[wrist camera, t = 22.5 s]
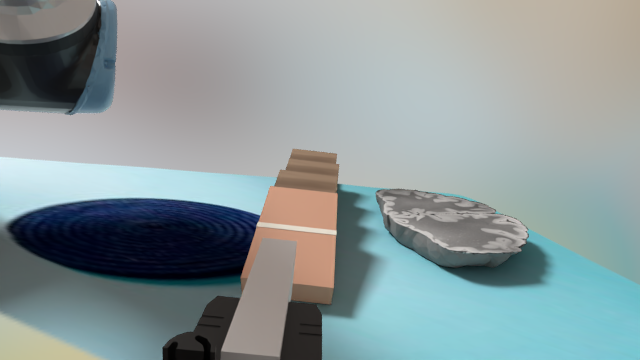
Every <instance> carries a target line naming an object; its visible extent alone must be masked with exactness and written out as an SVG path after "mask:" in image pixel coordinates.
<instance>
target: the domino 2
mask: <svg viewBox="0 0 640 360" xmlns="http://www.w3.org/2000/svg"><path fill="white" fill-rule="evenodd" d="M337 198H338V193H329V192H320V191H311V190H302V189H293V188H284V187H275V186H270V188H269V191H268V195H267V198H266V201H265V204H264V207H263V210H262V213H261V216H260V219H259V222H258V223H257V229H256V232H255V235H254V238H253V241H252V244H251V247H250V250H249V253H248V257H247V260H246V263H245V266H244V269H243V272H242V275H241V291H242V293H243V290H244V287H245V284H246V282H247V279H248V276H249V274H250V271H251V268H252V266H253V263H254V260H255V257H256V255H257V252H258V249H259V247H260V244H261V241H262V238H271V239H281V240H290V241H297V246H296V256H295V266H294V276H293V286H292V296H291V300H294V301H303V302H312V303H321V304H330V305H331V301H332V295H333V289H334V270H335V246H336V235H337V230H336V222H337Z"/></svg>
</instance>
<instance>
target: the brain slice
mask: <svg viewBox="0 0 640 360" xmlns="http://www.w3.org/2000/svg"><path fill="white" fill-rule="evenodd" d="M376 199H377V202H378V204H379V207H380V211H381V213H382V216H383V221H384V225H385V228H386V229H387V230H388V231H389V232H391V233H392V235H393V236H394V237H395V238H396V239H397V240H398V241H399V242H400V243H401V244H402V245H404V246H406V247H408V248H411V249H413V250H414V251H416V252H417V253H418V254H419V255H421V256H424V257H425V258H426V259H428V260H431V261H433V262H434V263H436V264H438V265H440V266H445V267H453V268H458V267H462V266H465V265H468V266H483V265H484V266H488V267H496V266H498V265H500V264H501V263H503V262H505V261H506V260H507V259H508V258H509V257H510V256H511V255H512V254H517V253H518V252H520V251H522V250H521V249H520V248H522V247H523V246H524V245H525V244H526V243H527V242H526V239H527V238H528V237H529V235H528V233H527V231H528V229H527V227H526V226H524V225H523V224H522V223H521V222H520V221H519V220H517V219H515V218H513V217H510V216H506V215H502V214H494V213H495V212H496V210H495V209H493V208H491V207H489V206H487V205H485V204H482V203H479V202H473V201H468V200H466V199H463V198H458V197H453V196H444V195H441V194H435V193H428V192H421V191H417V190H405V189H390V190H386V189H383V190H378V191H377V192H376Z"/></svg>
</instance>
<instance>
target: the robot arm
mask: <svg viewBox="0 0 640 360" xmlns="http://www.w3.org/2000/svg"><path fill="white" fill-rule="evenodd" d="M116 50H117V9H116V5H115V4H114V2H112V1H111V0H0V110H14V111H30V112H47V113H64V114H67V115H73V114H75V113H101V112H104V111H105V110H107V109H108V108H109V107H110V106H111V104H112V101H113V95H114V85H115V62H116ZM296 246H297V241H290V240H281V239H271V238H262V241H261V244H260V247H259V249H258V252H257V255H256V257H255V260H254V263H253V266H252V268H251V271H250V274H249V276H248V279H247V282H246V284H245V287H244V290H243V293H242V295H241V298H234V297H224V296H217V297H216V298H215V299H213V300H212V301H211V302H210V303H208V304H207V306H206V308H205V310H204V312H203V314H202V317H201V318H200V320H199V322H198V324H197V326H196V328H195V330H194V332H186V333H183V334H180V335H177V336H175V337H174V338H172V339H171V340H169V341H168V342H167V343H166V344H165V346H164V347H163V360H322V314H321V312H320V310H319V309H318V307H317V305H315V304H305V303H295V302H291V296H292V286H293V276H294V266H295V256H296Z"/></svg>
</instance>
